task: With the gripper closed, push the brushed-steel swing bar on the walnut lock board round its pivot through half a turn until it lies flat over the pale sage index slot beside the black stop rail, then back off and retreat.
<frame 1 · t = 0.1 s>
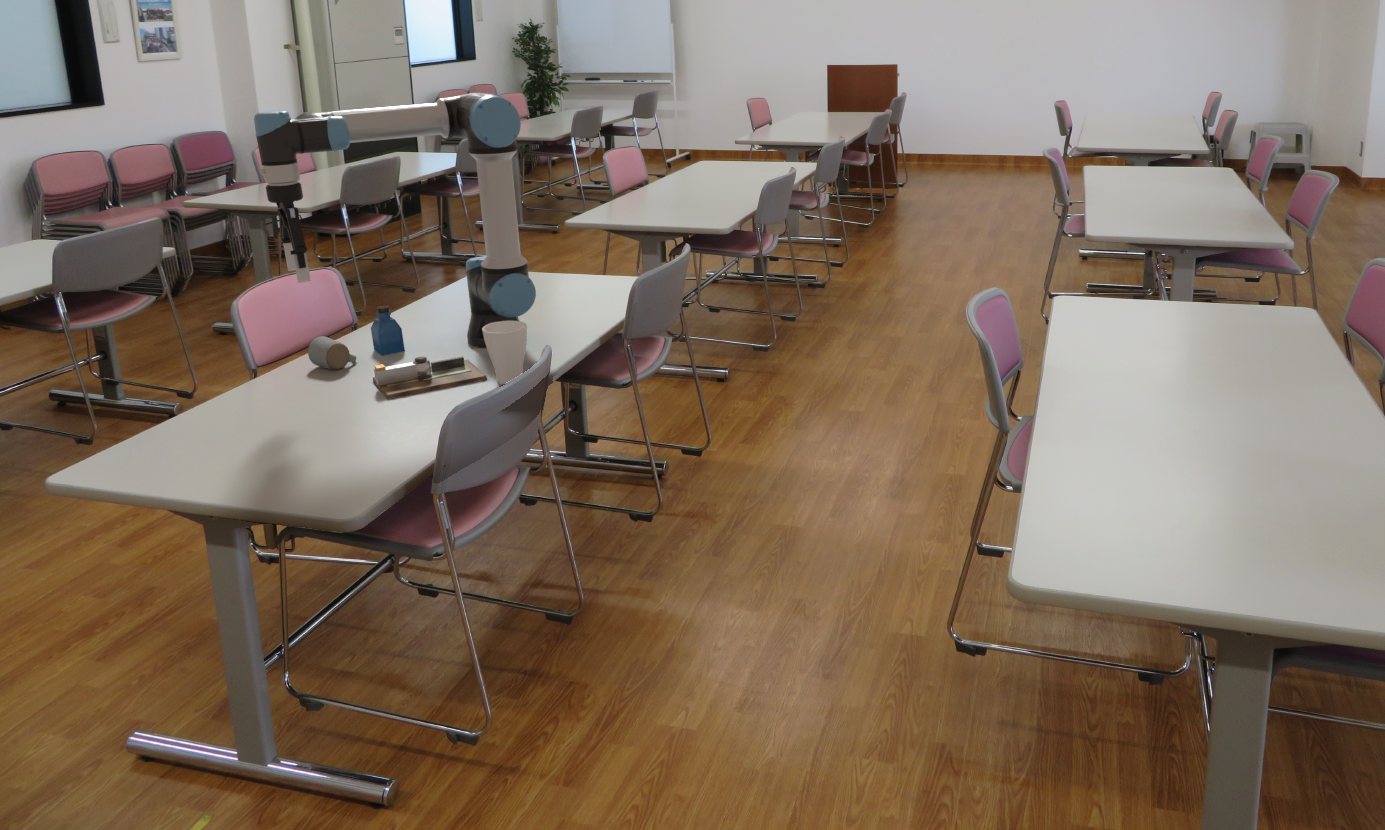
hand: (299, 276, 245), 28 cm above the table, fingers open, 13 cm apart
lock board: (429, 380, 258), on the table
swing bar: (403, 370, 255), point 4 cm above the table, hinge at 0.0°
perfume bottle: (389, 351, 283), on the table
cup: (510, 381, 256), on the table
ceramic mug: (336, 366, 272), on the table
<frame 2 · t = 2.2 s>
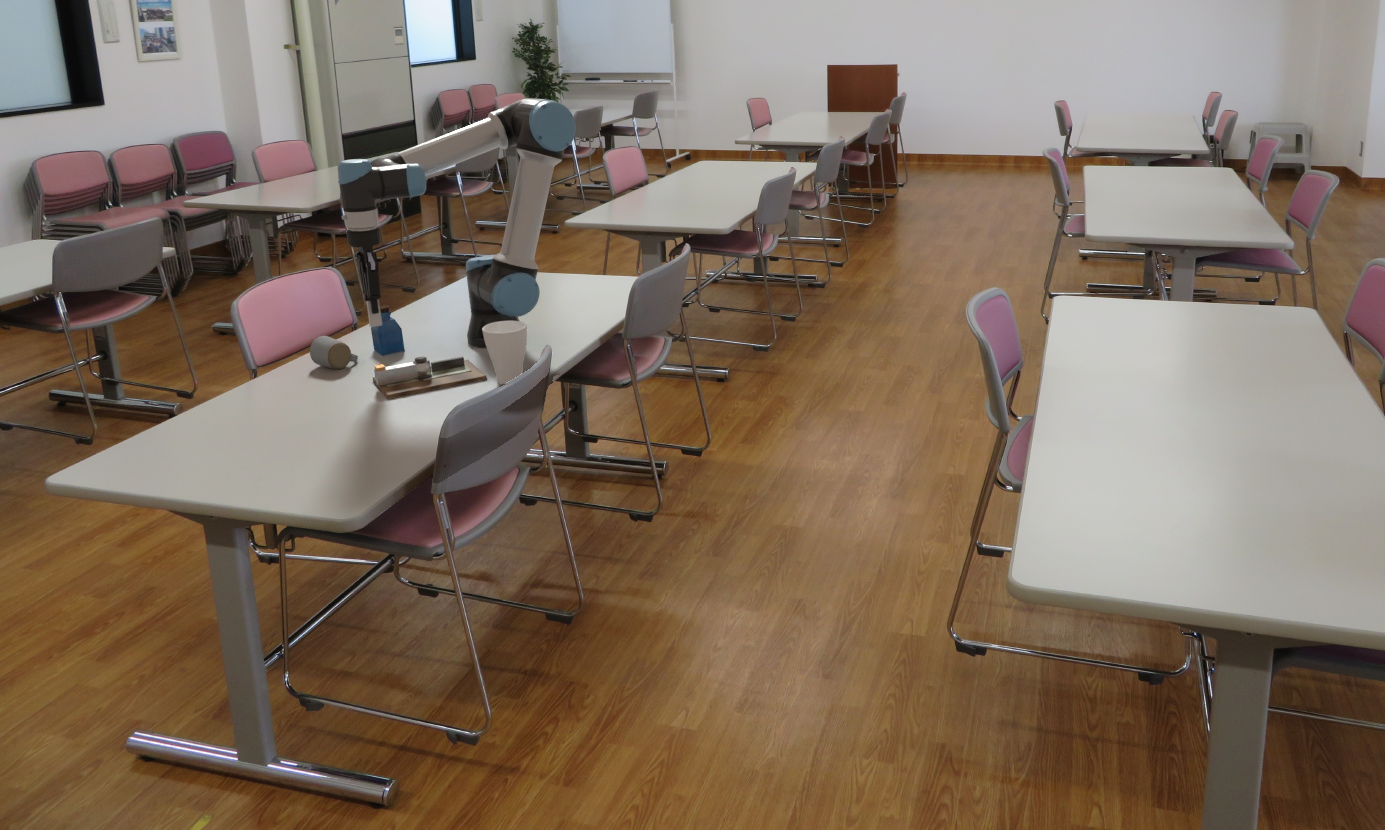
hand: (375, 325, 256), 14 cm above the table, fingers closed
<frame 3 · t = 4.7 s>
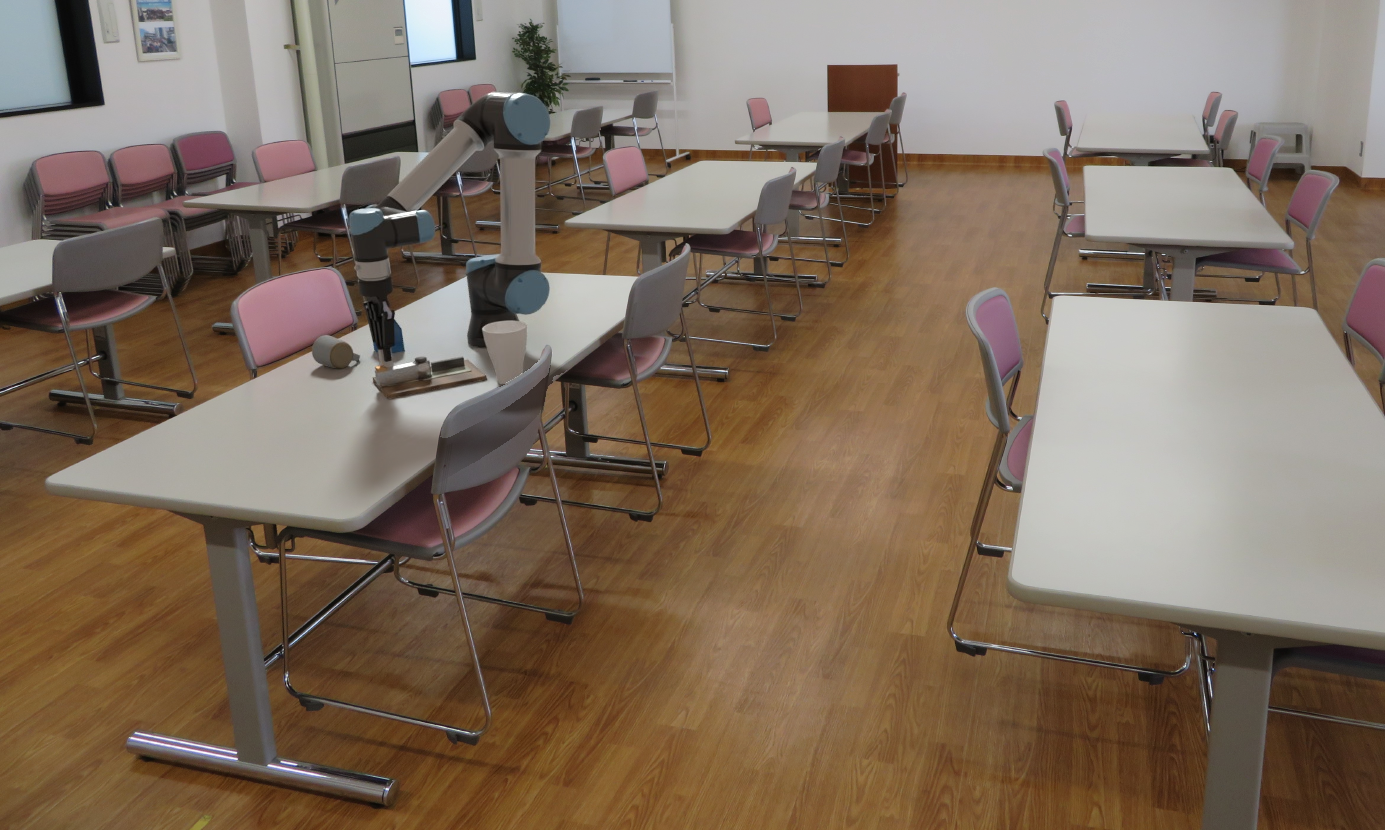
hand: (387, 373, 254), 3 cm above the table, fingers closed
swing bar: (403, 371, 254), point 4 cm above the table, hinge at 5.4°, touching gripper
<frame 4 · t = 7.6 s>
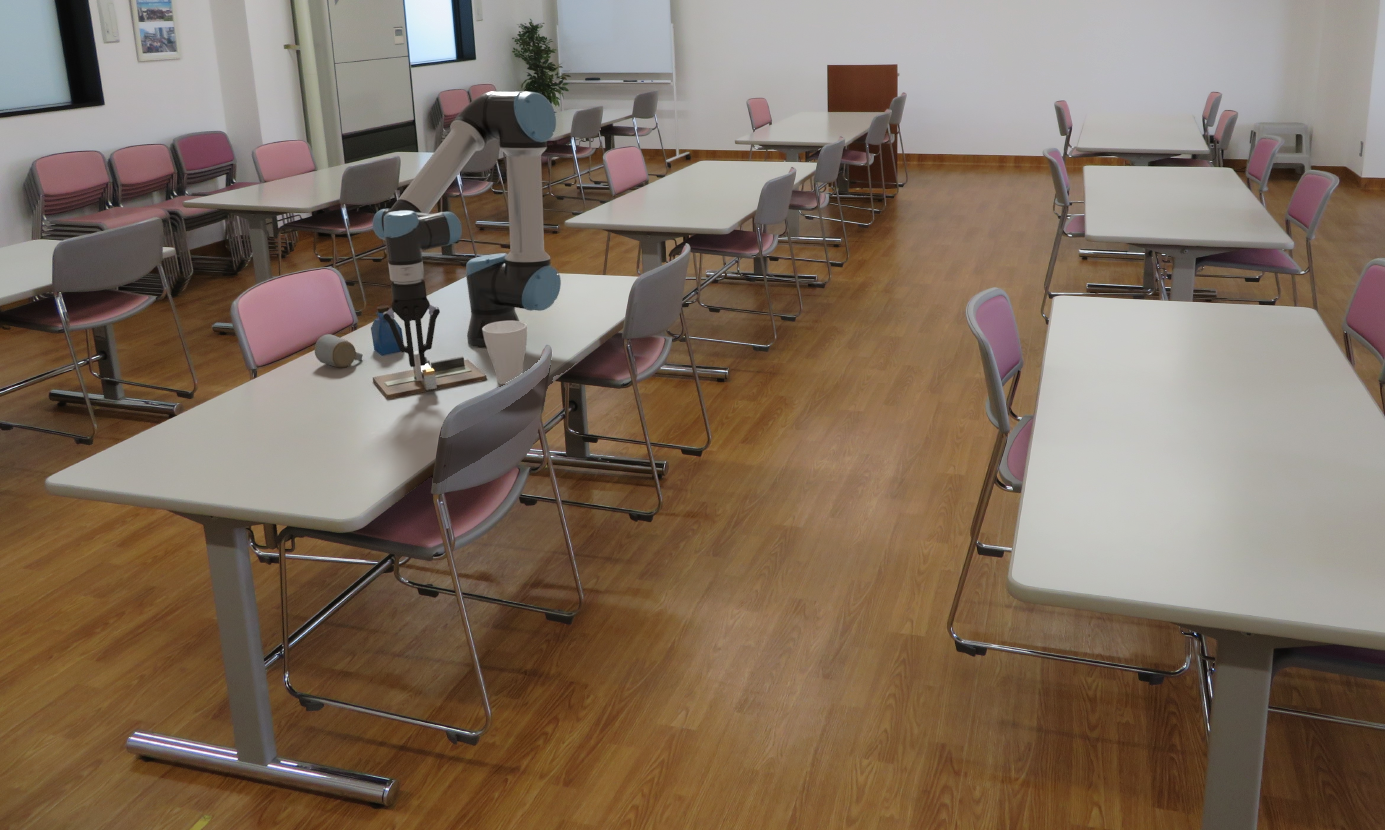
hand: (419, 378, 249), 3 cm above the table, fingers closed
swing bar: (425, 372, 253), point 4 cm above the table, hinge at 85.3°, touching gripper
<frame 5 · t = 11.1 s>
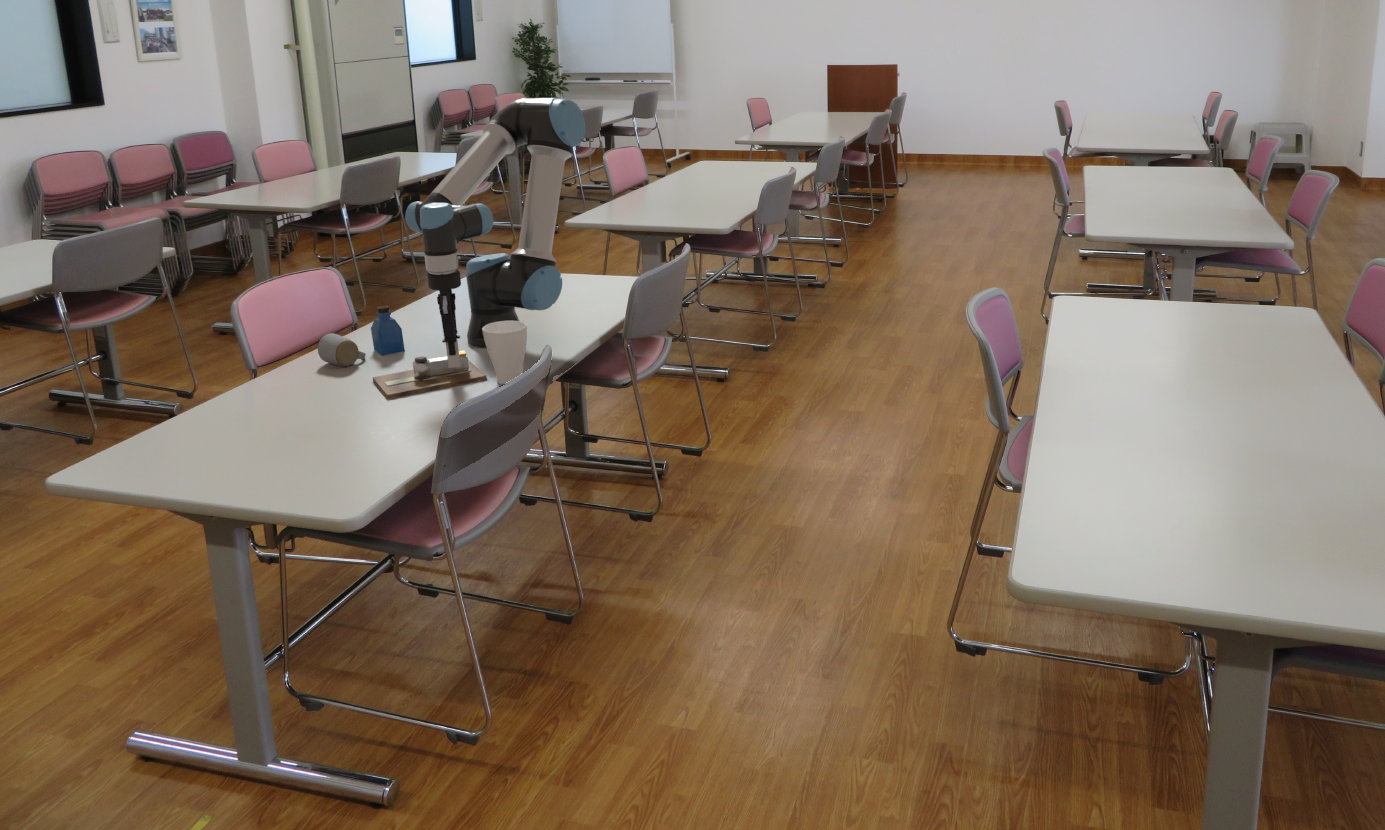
hand: (454, 366, 257), 3 cm above the table, fingers closed
swing bar: (440, 364, 258), point 4 cm above the table, hinge at 174.3°
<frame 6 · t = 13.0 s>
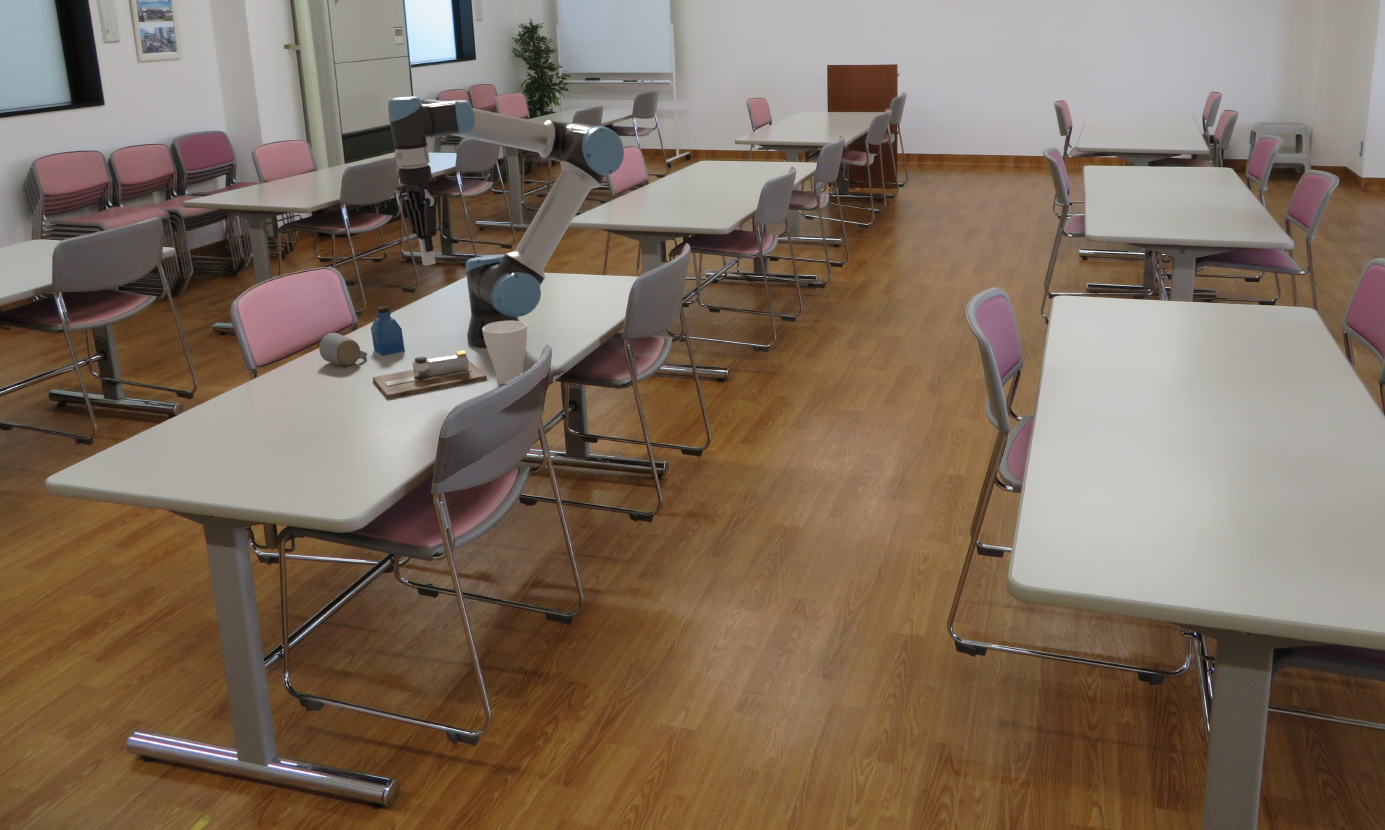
hand: (429, 264, 258), 27 cm above the table, fingers closed
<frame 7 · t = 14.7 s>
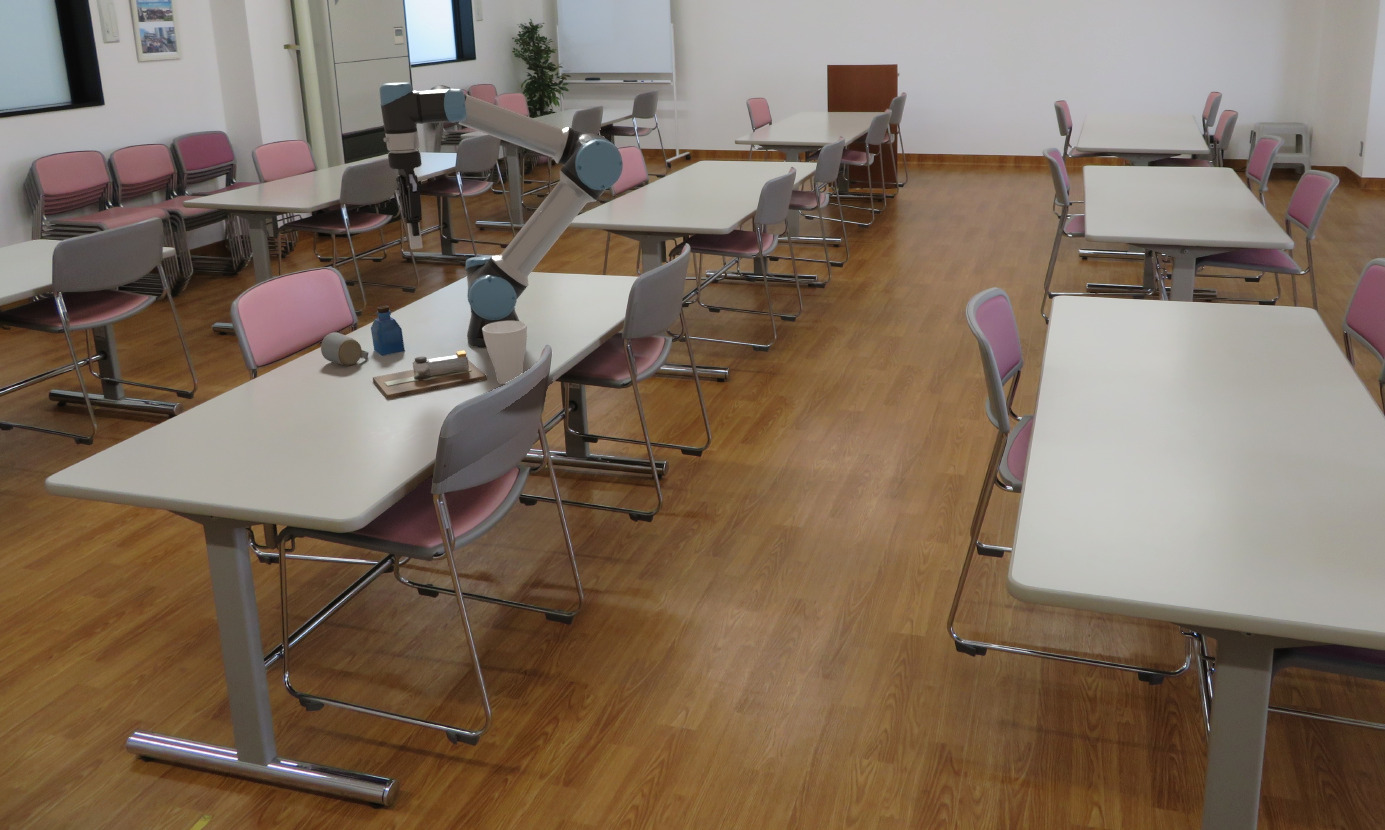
hand: (416, 248, 262), 29 cm above the table, fingers closed
at the end: swing bar at +174° (first picture: +0°); the gripper is holding nothing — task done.
